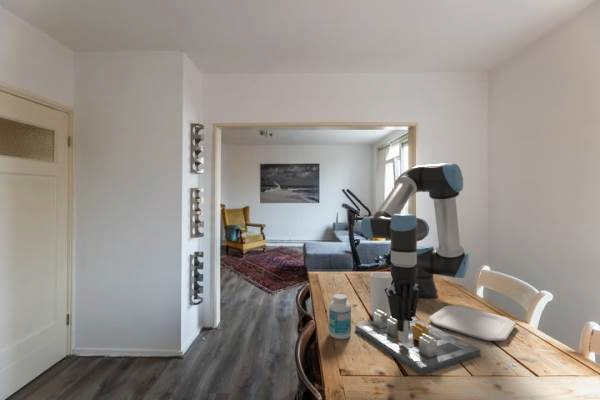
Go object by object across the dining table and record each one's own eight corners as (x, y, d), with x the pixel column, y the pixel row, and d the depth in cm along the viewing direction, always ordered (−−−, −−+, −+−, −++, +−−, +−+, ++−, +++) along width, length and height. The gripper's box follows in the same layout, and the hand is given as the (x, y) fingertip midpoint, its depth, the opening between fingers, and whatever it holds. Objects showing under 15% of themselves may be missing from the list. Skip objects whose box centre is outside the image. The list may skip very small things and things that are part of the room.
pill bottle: (327, 330, 107) (327, 292, 107) (347, 330, 108) (347, 292, 108) (331, 340, 100) (331, 300, 100) (353, 339, 100) (353, 299, 100)
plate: (448, 308, 130) (448, 303, 130) (518, 325, 112) (518, 319, 112) (424, 325, 112) (424, 319, 112) (502, 349, 95) (502, 342, 94)
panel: (406, 318, 117) (406, 300, 117) (480, 355, 90) (480, 331, 90) (355, 330, 108) (355, 310, 107) (420, 375, 80) (420, 348, 80)
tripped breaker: (419, 335, 98) (419, 321, 98) (428, 340, 95) (428, 325, 94) (412, 337, 97) (412, 322, 97) (421, 342, 93) (421, 327, 93)
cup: (392, 319, 117) (392, 278, 117) (370, 317, 119) (370, 277, 119) (390, 311, 125) (390, 272, 125) (370, 309, 127) (370, 271, 127)
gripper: (410, 260, 99) (410, 331, 99) (378, 263, 93) (378, 339, 93) (428, 264, 92) (428, 341, 92) (395, 269, 86) (395, 350, 87)
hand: (403, 340), depth 93 cm, fingers closed
